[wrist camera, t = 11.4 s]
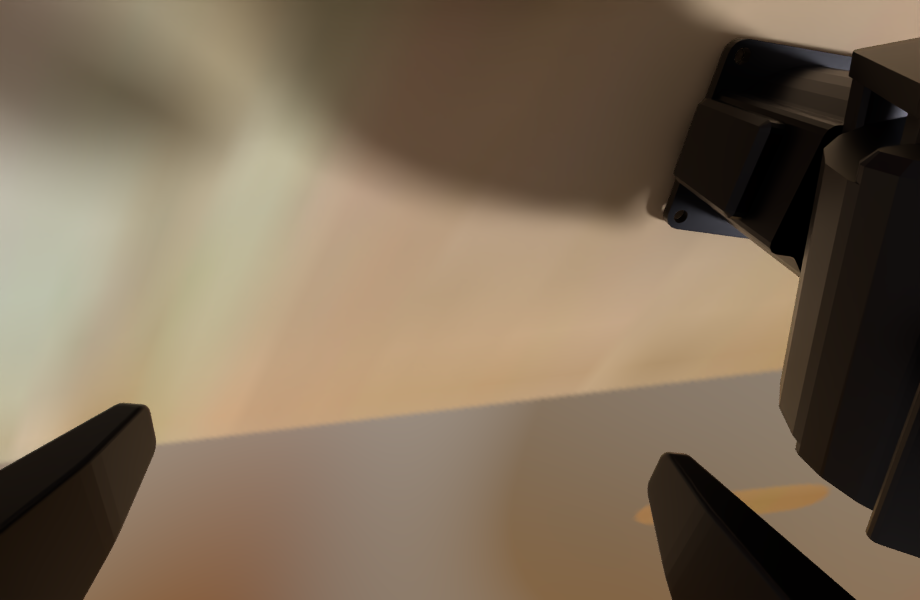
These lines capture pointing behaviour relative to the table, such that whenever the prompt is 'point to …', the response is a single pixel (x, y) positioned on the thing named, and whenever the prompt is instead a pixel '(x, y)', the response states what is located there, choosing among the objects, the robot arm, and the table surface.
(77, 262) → the table surface
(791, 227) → the robot arm
